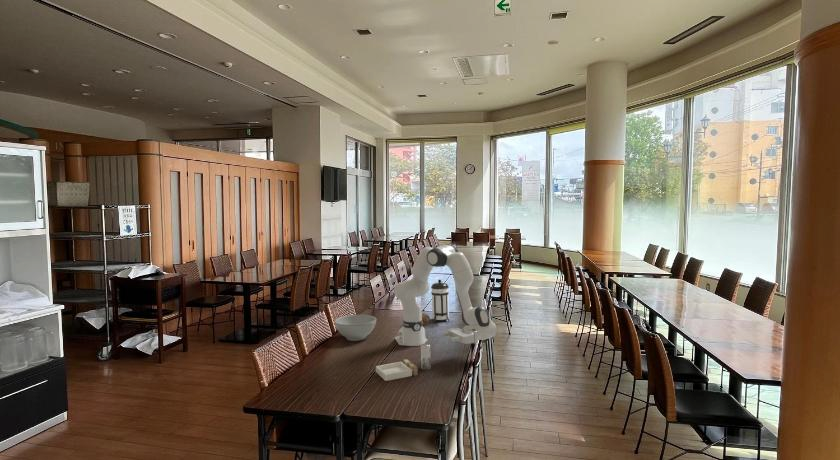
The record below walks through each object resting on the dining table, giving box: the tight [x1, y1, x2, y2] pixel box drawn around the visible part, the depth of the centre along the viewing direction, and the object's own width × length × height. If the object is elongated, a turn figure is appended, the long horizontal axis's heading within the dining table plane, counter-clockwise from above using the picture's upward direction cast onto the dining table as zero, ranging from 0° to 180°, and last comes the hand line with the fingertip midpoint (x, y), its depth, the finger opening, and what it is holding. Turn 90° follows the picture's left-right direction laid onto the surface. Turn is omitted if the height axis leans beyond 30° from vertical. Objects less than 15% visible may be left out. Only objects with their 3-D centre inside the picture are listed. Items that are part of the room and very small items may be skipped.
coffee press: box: [430, 279, 450, 323], centre depth 336 cm, size 17×16×30 cm
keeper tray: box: [375, 361, 413, 382], centre depth 233 cm, size 14×14×3 cm
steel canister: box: [420, 343, 432, 371], centre depth 240 cm, size 5×5×12 cm
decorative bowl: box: [334, 314, 377, 342], centre depth 298 cm, size 27×27×12 cm
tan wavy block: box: [402, 358, 419, 376], centre depth 236 cm, size 14×2×4 cm, turn 25°
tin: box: [422, 313, 431, 327], centre depth 324 cm, size 15×3×8 cm, turn 105°
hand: (446, 337), depth 244 cm, fingers open, 8 cm apart
